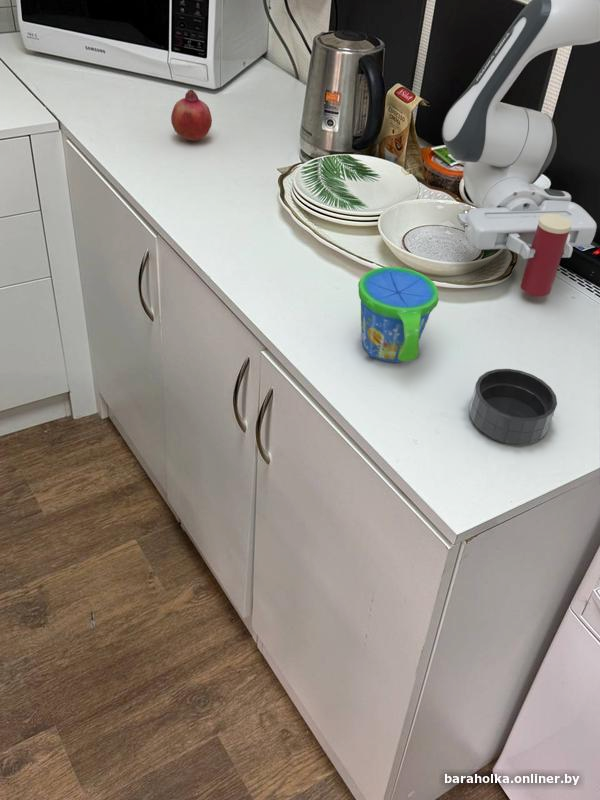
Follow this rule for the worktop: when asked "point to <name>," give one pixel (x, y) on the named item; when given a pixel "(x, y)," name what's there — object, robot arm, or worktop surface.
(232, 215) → the worktop surface
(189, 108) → the fruit
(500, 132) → the robot arm
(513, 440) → the bowl
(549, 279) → the candy tube
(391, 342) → the snack cup
